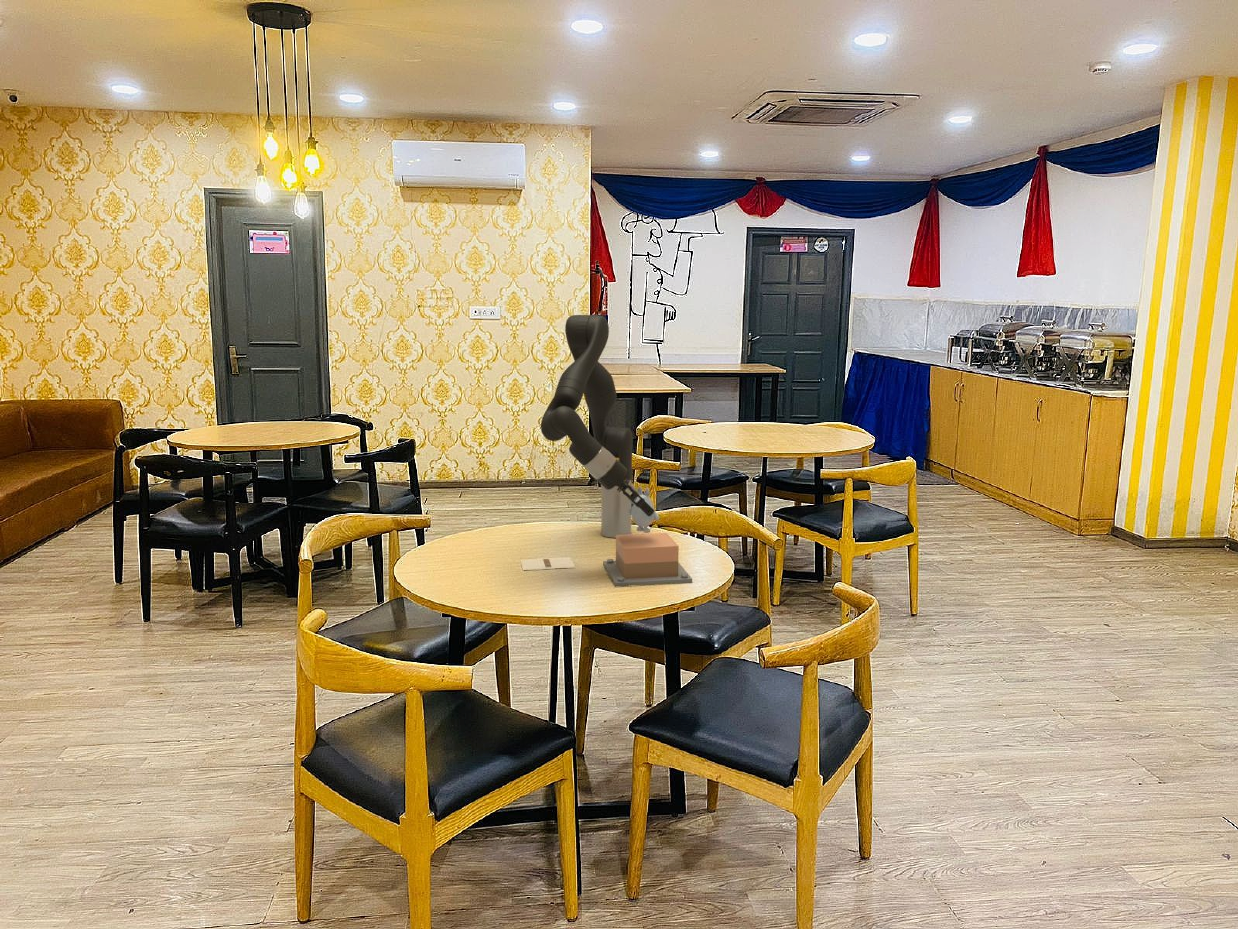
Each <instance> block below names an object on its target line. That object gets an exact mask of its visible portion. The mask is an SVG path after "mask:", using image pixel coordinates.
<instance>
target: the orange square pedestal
mask: <svg viewBox="0 0 1238 929" xmlns="http://www.w3.org/2000/svg"><path fill="white" fill-rule="evenodd" d="M679 548H680V547H679V545H678V544H677V542H676V541H674V539H673V538H672V537H671V535H669V534H668V533H667V532H654V533H650V532H649V533H631V534H627V535H616V538H615V559H613V558H607V559H606V560H604V561H602V565H603V568H604V569H605V571H606V573H607V572H608V573H607V575H608V576H609V579H610V580H611V582H612V583H613V585H615V586H614V587H615V588H617V587H616V586H621V587H632V586H631V585H640V586H656V585H655V584H659V585H666V584H665V583H669V584H668V585H675V583H677V584H693V578H692V577H691V575H690V574H689V573H688V572H687V570H685V568H684V566H682V564H680V562H679V554H680V553H679V551H680V550H679ZM670 583H672V584H670ZM629 585H630V586H629Z"/></svg>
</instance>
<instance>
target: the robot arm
mask: <svg viewBox="0 0 1238 929" xmlns="http://www.w3.org/2000/svg"><path fill="white" fill-rule="evenodd" d="M564 331H565V338H566V342H567V345H568V348H569V350H570V353H571V356H572V358H573V360H574V361H573V362H572V363H571V364H570V365H569V366H567V367H566V369H565V370H564V371H563V373H561V375H560V378H559V380H558V384H557V386H556V389H555V392H554V396H553V398H552V399H551V400H550V403H549V404H548V406H547V408H546V410H545V412H544V414H543V416H542V418H541V422H540V430H541V434H542V435H543V437H544V438H545V439H546V440H547V441H551V442H557V441H560V440H562V439H563V438H565V437H566V436H567V437H568V438H569V440H570V442H571V443H570V445H569V448H568V451H569V453H570V455H571V456H572V457H574V458H575V460H576V461H578V462H579V463H580V465H582V466H583V468H585V470H586V471H587V472H588V473H589V474H590V475H591V476H592V478H594V479H595V480H596V482H598V483H599V484H600V490H601V491H600V496H601V497H600V498H601V499H600V500H601V501H600V508H601V509H600V511H601V514H600V518H601V521H600V522H601V523H600V525H601V528H600V529H601V530H600V532H601V535H602V536H603V537H606V538H615V539H616V535H627V534H632V516H631V514H630V515H628V513H627V512H628V509H629V508H630V507H632V503H633V505H634V504H635V505H636V507H638V508H640V509H641V510H642V511H643V512H644V513H645V514H646V515H647V516H651V515H652V514H653V513H654V511H655V508H654V509H653V508H652V507H650V506H649V505H648V504H647V503H646V502H645V499H644V498H642V497H641V496H640V492H638V489H637V488H636V487H635V486H634V484H633V483H632V470H633V469H632V468H633V467H632V465H633V448H634V444H633V443H634V436H633V432H632V430H631V429H630V428H628V427H617V426H615V427H614V426H607V424H606V420H607V419H608V416H609V414H610V413H611V412H612V410H613V408H614V406H615V405H616V402H617V398H618V396H617V394H618V393H617V390H616V386H615V382H614V381H615V380H614V378H613V376H612V375H611V373H610V372H609V370H608V369H607V368H606V367H605V366H603V365H602V363H600V362H599V359H601V358H600V357H601V356H602V354H603V352H604V350H605V348H606V345H607V343H608V339H609V335H610V327H609V323H608V320H607V319H606V317H605V316H604V315H603V316H602V315H598V314H593V315H592V314H574V315H570V316H569V317H568V318H567V319H566V321H565V330H564ZM583 397H584V400H585V404H586V407H587V410H588V413H589V417H590V420H591V421H590V422H591V428H592V434H593V436H592V435H591V433H590V431H589V430H588V428H587V426H586V425H585V423H584V421H583V419H582V418H581V416H580V415H579V413H578V412H577V411H576V410H577V409H578V408H579V406H580V405H581V402H582V399H583ZM637 497H639V498H640V500H639V501H638V502H637V503H636V502H635V501H636V499H637Z"/></svg>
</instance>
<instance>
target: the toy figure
mask: <svg viewBox="0 0 1238 929" xmlns="http://www.w3.org/2000/svg"><path fill="white" fill-rule="evenodd" d="M637 491H638V492H640V496H641V497H642V498H644V499H645V502H646V503H647V504H648V505H649V506H650V507H652V508H653V509H654V513H653V514H652V515H651V516H647V515H646V514H645V513H644V512H643V511H642V510H641V509H640V508H638V507H636V505H635V504H634V503H633V505H631V507H630V508H629V509H628V512H627V513H628V515H630V514H631V520H632V521H633V522H634V523H635V525H636V526H637V527H636V531H637V532H643V533H644V534H650V532H651V529H650V528H648V527H649V526H650V525H651V524H652V523H653V521H654V520H655V521H656V522H658V521H659V520H660V516H659V514H658V512H656V510H655V508H654V504H653V502H652V499H651V498H650V496H649V495H650V489H649V487H645V489H644V494H643V488H642V486H638V488H637ZM639 500H640V498H639V497H637V499H636V501H635V502H636V503H637V502H638V501H639Z"/></svg>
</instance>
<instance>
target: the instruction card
mask: <svg viewBox="0 0 1238 929" xmlns="http://www.w3.org/2000/svg"><path fill="white" fill-rule="evenodd" d="M520 564H521V568H522V571H523V572H525V571H524V570H531V571H543V570H542V569H551V570H556V569H555V568H571V569H576V566H575V564H574V561H573V559H572V557H571V556H567V557H566V556H565V557H564V556H563V557H551V558H549V557H547V558H528V559H526V558H525V559H520Z"/></svg>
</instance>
